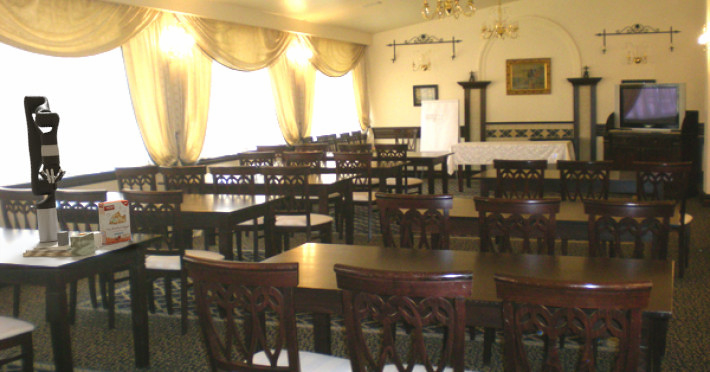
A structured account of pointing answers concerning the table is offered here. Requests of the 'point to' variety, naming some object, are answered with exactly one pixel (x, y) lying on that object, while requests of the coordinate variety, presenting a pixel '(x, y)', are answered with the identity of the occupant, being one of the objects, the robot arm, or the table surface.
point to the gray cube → (62, 241)
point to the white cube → (97, 238)
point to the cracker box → (114, 221)
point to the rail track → (79, 247)
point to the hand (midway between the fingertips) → (53, 190)
